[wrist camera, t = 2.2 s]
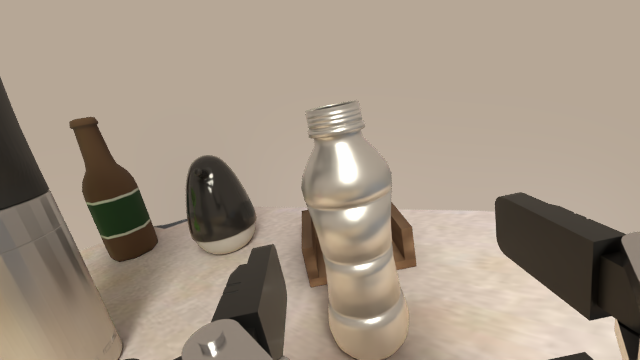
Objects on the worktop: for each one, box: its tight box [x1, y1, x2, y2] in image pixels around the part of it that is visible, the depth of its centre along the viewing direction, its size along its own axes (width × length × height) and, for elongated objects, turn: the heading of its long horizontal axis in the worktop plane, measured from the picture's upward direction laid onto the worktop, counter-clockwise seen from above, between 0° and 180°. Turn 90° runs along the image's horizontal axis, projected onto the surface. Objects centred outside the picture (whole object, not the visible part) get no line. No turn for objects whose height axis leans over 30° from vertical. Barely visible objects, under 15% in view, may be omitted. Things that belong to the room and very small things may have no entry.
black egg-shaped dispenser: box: [186, 155, 257, 254], centre depth 47 cm, size 10×10×15 cm
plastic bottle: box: [301, 101, 409, 360], centre depth 23 cm, size 6×7×20 cm
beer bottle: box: [70, 117, 158, 262], centre depth 51 cm, size 8×8×24 cm
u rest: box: [302, 202, 416, 287], centre depth 39 cm, size 12×11×5 cm
